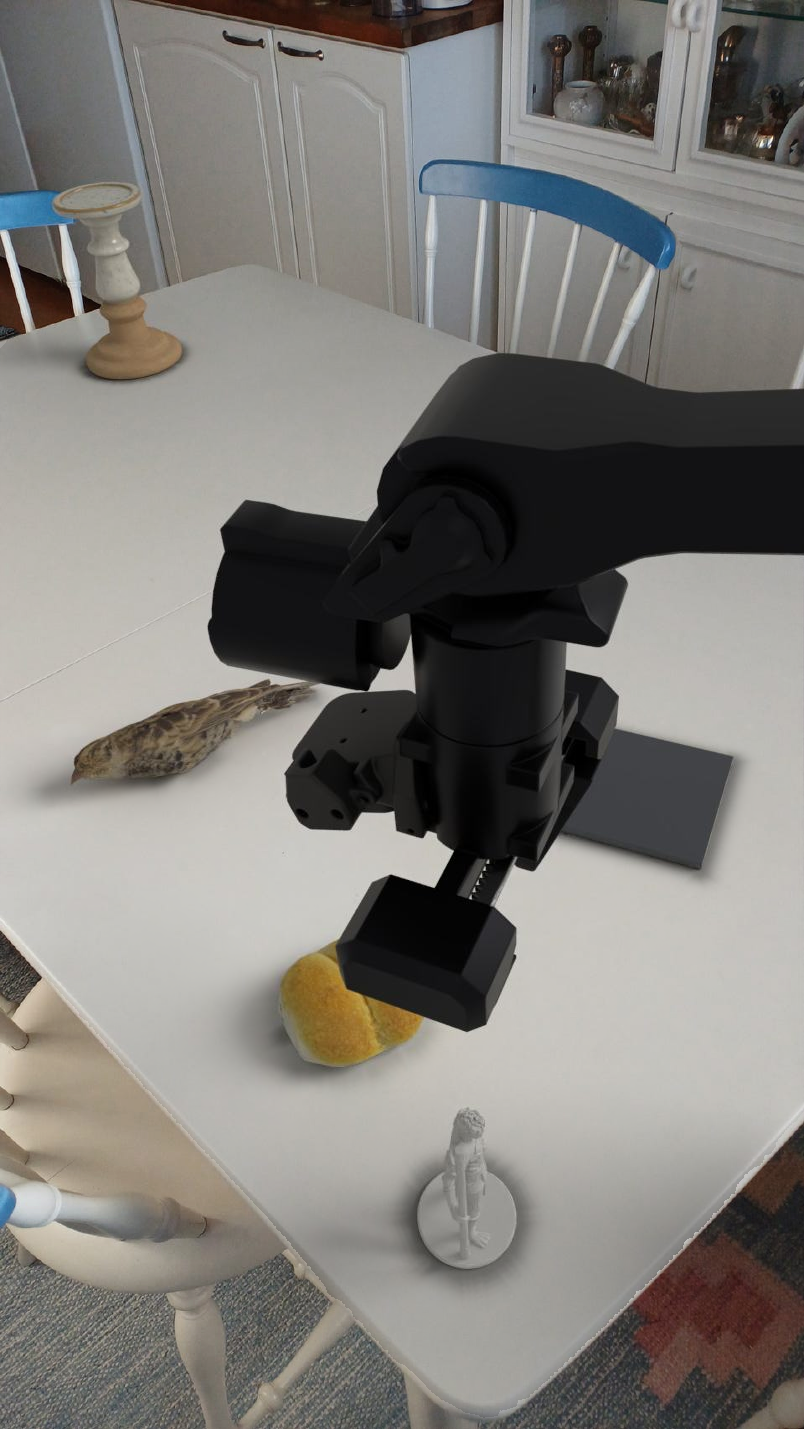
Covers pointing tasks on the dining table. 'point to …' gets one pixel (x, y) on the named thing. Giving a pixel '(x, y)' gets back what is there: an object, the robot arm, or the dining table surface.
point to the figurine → (466, 1202)
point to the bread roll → (337, 1014)
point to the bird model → (181, 733)
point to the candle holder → (117, 285)
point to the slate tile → (653, 798)
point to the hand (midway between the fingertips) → (493, 936)
